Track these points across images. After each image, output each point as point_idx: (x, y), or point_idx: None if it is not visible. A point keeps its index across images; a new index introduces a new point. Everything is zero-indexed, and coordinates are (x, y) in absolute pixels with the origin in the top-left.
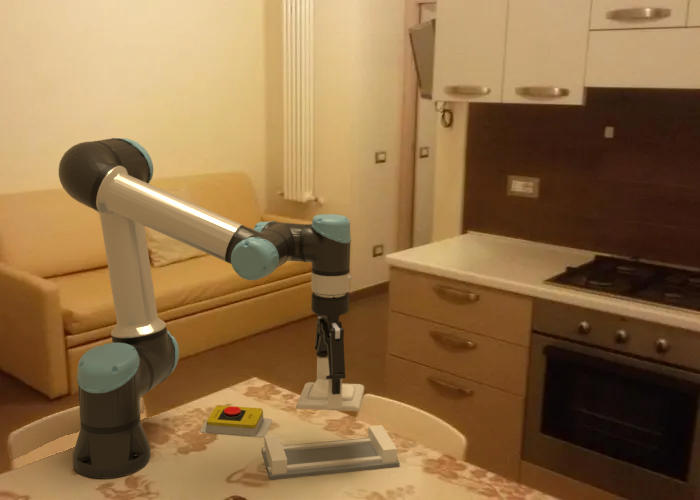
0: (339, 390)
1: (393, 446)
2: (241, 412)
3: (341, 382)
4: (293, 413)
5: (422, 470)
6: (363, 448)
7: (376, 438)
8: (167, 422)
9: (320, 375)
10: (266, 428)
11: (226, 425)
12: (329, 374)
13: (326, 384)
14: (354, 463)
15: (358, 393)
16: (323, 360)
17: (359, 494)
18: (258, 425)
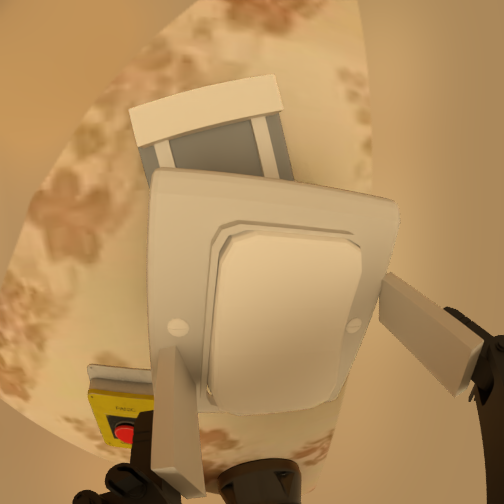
0: (460, 316)
1: (262, 81)
2: (116, 420)
3: (463, 327)
4: (49, 329)
5: (280, 37)
6: (198, 159)
7: (215, 123)
8: None
9: (193, 413)
10: (127, 371)
11: None
12: (475, 397)
13: (258, 372)
14: None
15: (281, 202)
16: (193, 473)
17: (371, 176)
18: (135, 388)
